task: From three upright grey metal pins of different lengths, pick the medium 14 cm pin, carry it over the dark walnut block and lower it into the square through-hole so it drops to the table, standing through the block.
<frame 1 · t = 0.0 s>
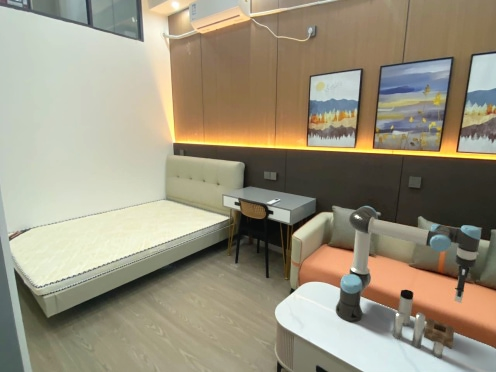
hand: (458, 295, 134), 28 cm above the table, fingers open, 13 cm apart
travel mug: (403, 322, 155), on the table
hole block: (438, 337, 143), on the table
pin short: (437, 354, 132), on the table
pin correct: (397, 336, 144), on the table
pin long: (416, 345, 138), on the table
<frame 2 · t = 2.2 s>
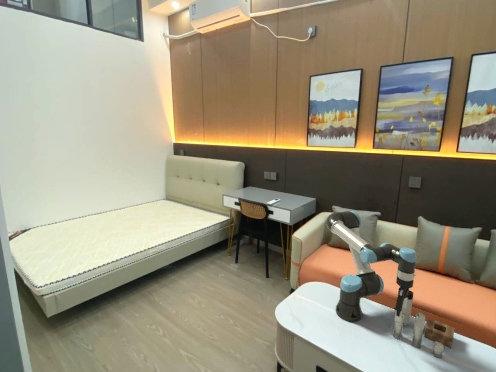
hand: (400, 314, 141), 14 cm above the table, fingers open, 13 cm apart
nothing on the table moved.
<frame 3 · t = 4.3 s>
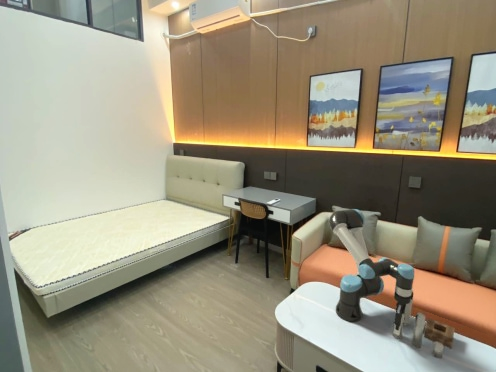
hand: (397, 331, 143), 3 cm above the table, fingers closed on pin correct, 4 cm apart
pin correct: (397, 336, 144), on the table, touching gripper
everything else where it was.
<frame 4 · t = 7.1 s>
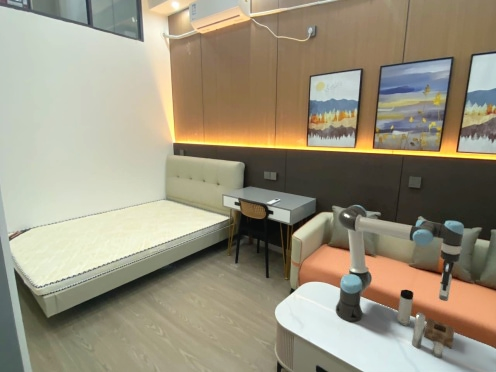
hand: (444, 293, 137), 27 cm above the table, fingers closed on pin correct, 4 cm apart
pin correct: (443, 298, 138), point 24 cm above the table, touching gripper
everything else where it was.
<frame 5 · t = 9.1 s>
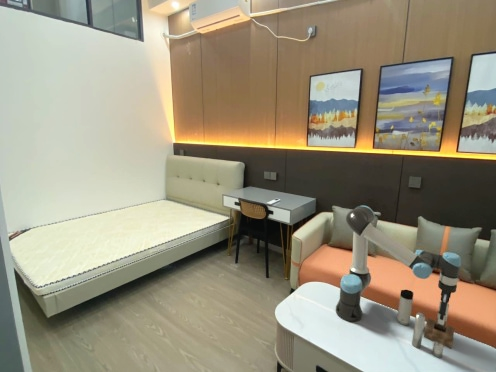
hand: (441, 321, 141), 10 cm above the table, fingers closed on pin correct, 4 cm apart
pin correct: (440, 326, 142), point 7 cm above the table, touching gripper
everything else where it was.
when the fingers open (7 cm above the table, at t = 10.3 s): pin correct drops 3 cm, resting in hole block.
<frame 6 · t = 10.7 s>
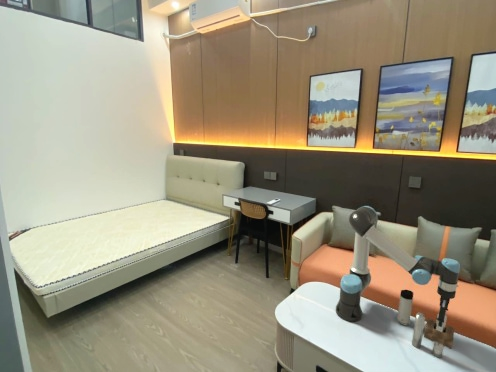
hand: (440, 325, 142), 8 cm above the table, fingers open, 9 cm apart
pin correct: (438, 337, 143), resting in hole block
everything else where it was.
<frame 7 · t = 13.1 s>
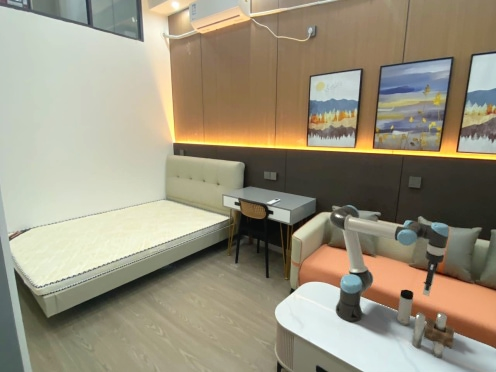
hand: (427, 289, 140), 28 cm above the table, fingers open, 13 cm apart
nothing on the table moved.
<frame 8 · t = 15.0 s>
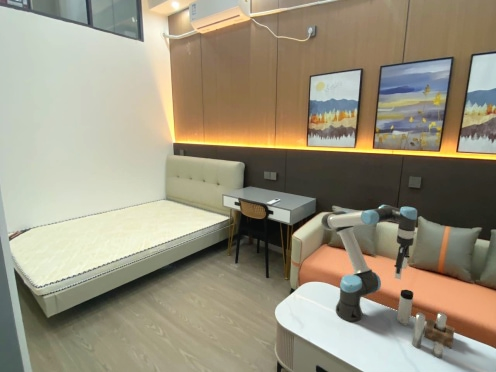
hand: (400, 273, 142), 35 cm above the table, fingers open, 13 cm apart
nothing on the table moved.
at the end: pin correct 0.0 cm off-centre on the hole block, point 0.0 cm above the hole block's base; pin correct tilted 0°; the gripper is holding nothing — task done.
